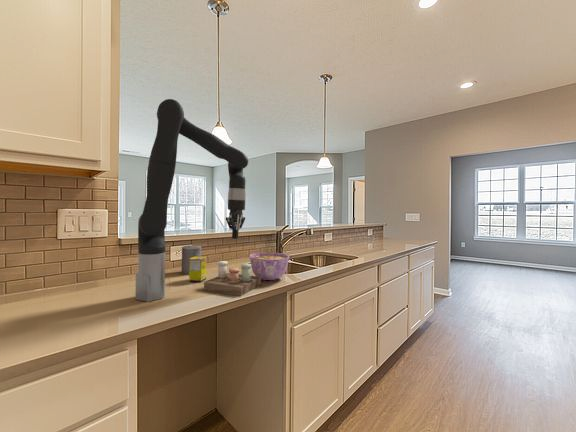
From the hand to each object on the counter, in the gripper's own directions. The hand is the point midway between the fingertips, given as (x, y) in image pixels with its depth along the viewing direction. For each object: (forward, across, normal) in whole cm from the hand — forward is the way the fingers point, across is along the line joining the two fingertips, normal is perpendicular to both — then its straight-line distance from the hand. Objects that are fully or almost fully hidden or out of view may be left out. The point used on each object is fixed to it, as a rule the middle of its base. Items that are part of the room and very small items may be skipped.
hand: (235, 238), depth 120 cm
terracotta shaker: (+21, 0, 0) cm, 21 cm away
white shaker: (+18, 0, +6) cm, 19 cm away
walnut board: (+22, 0, 0) cm, 22 cm away
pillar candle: (+22, +13, +34) cm, 43 cm away
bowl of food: (+22, +20, -8) cm, 31 cm away
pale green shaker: (+18, 0, -6) cm, 19 cm away
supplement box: (+22, +2, +21) cm, 30 cm away
